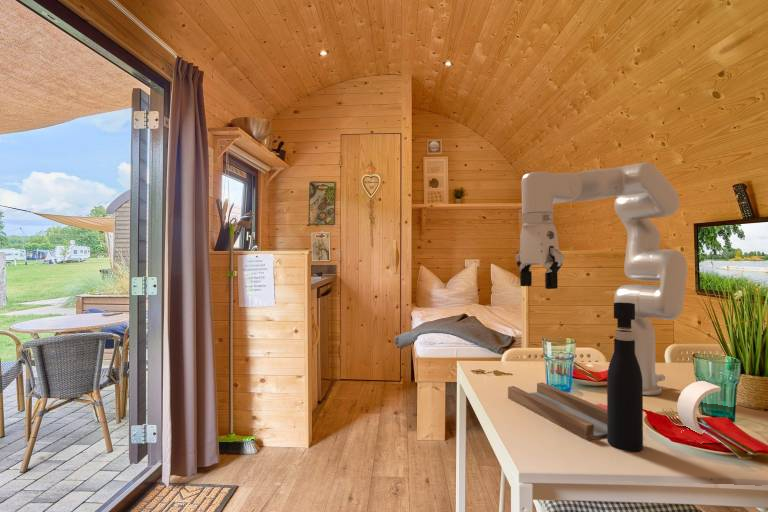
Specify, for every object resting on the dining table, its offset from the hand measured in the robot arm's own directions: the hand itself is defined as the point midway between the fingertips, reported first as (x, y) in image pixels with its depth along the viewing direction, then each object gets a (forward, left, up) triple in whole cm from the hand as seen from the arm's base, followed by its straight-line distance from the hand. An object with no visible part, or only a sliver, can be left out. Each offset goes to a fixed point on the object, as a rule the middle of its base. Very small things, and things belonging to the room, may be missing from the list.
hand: (538, 287), depth 101 cm
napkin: (-16, +6, -32) cm, 36 cm away
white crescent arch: (-23, +23, -32) cm, 46 cm away
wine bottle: (-5, +20, -32) cm, 39 cm away
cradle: (-5, +2, -32) cm, 33 cm away
